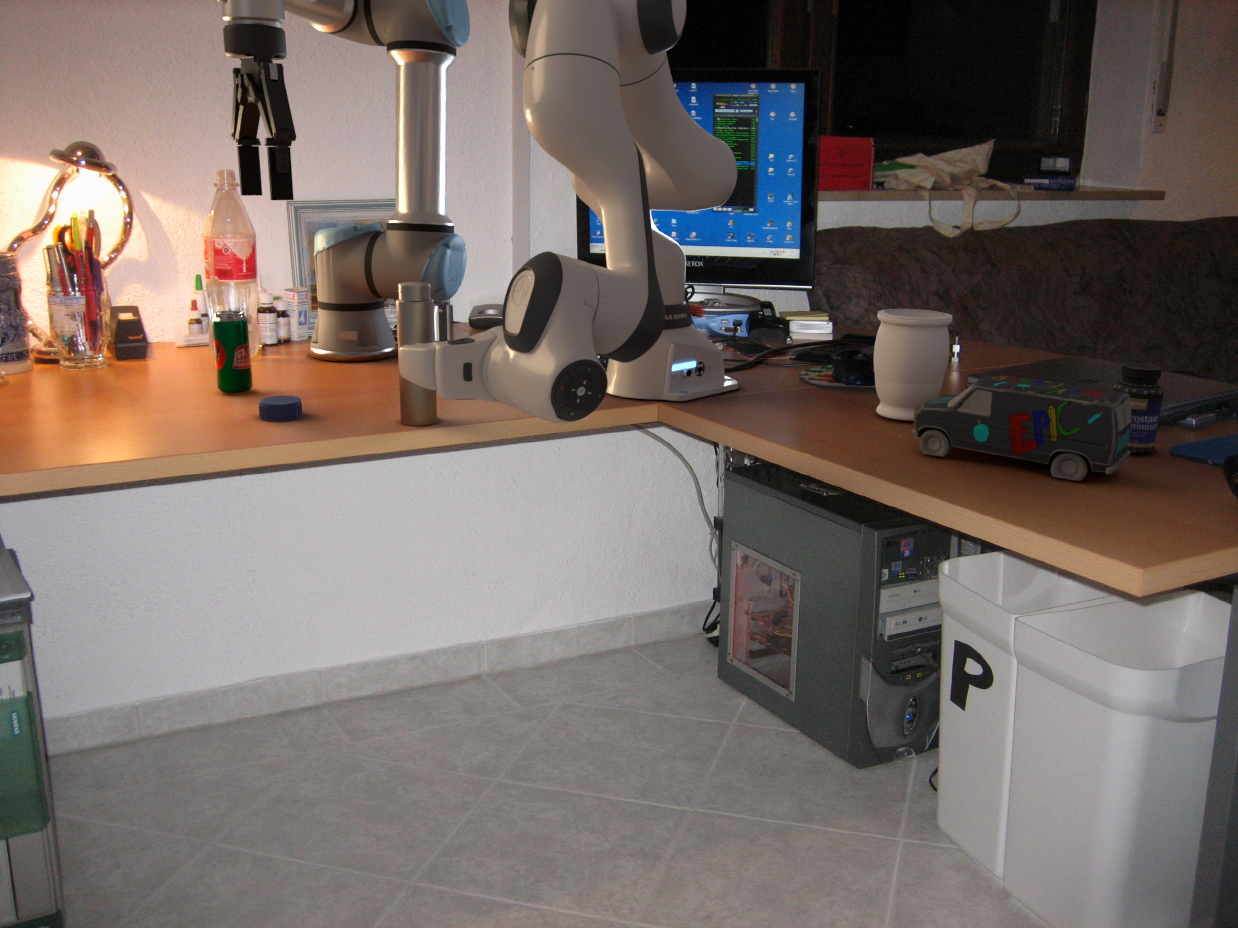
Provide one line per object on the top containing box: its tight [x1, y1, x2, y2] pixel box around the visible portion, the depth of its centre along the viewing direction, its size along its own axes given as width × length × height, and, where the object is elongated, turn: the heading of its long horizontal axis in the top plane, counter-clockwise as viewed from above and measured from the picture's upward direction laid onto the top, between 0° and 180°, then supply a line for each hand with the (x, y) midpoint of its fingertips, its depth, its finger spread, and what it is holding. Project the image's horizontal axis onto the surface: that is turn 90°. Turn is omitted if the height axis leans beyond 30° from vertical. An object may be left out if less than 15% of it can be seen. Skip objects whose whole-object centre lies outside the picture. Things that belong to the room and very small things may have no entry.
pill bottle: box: [1111, 362, 1165, 455], centre depth 139 cm, size 6×6×11 cm
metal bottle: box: [395, 282, 438, 427], centre depth 146 cm, size 5×5×19 cm
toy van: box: [911, 374, 1133, 482], centre depth 133 cm, size 11×25×10 cm, turn 54°
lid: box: [258, 395, 303, 422], centre depth 149 cm, size 6×6×2 cm
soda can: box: [211, 310, 254, 395], centre depth 162 cm, size 5×5×12 cm
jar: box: [873, 308, 953, 422], centre depth 154 cm, size 11×10×15 cm
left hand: (266, 198), depth 141 cm, fingers open, 13 cm apart
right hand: (454, 345), depth 136 cm, fingers open, 8 cm apart
